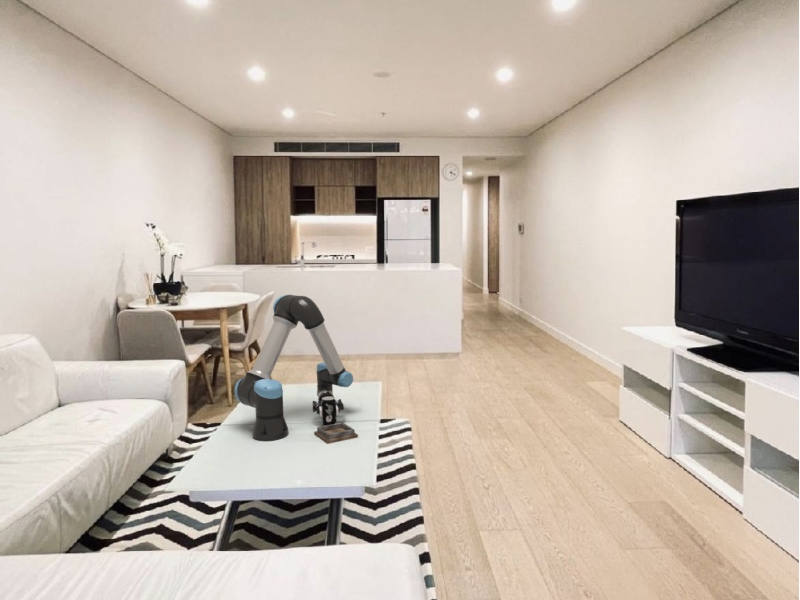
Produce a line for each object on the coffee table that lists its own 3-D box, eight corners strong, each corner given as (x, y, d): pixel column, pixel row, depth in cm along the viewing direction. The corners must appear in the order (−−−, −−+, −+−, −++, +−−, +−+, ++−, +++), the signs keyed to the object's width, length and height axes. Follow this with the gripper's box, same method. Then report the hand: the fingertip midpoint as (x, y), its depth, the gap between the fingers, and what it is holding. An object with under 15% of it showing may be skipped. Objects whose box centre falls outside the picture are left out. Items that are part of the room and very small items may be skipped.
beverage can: (339, 423, 257) (338, 397, 255) (328, 427, 252) (327, 400, 251) (329, 420, 261) (328, 395, 260) (318, 424, 256) (317, 398, 255)
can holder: (327, 443, 233) (326, 436, 233) (314, 434, 245) (313, 427, 245) (357, 437, 240) (357, 429, 240) (343, 428, 252) (343, 421, 252)
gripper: (346, 405, 275) (351, 419, 253) (305, 408, 272) (307, 422, 249) (346, 390, 275) (351, 403, 252) (305, 393, 271) (306, 406, 249)
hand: (329, 412), depth 251 cm, fingers closed on beverage can, 6 cm apart
